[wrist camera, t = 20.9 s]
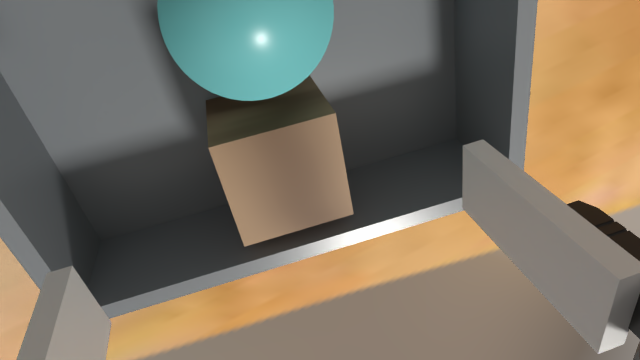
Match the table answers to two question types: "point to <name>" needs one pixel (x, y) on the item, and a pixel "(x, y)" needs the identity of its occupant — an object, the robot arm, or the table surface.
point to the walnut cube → (279, 161)
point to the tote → (192, 139)
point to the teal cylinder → (246, 43)
